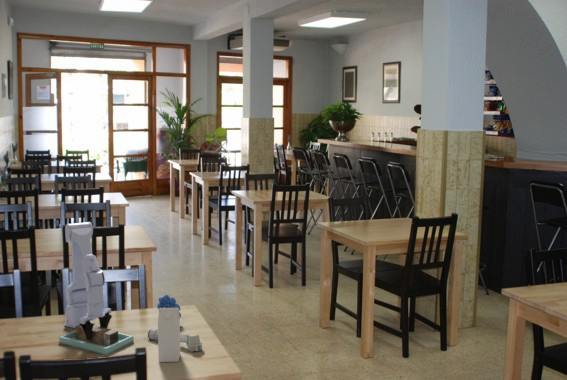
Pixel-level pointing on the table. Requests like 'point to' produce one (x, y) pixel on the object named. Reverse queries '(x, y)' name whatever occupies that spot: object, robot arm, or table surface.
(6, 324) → the table surface
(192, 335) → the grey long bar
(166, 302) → the grapes
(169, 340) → the milk carton
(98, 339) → the walnut strut
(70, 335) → the tray
